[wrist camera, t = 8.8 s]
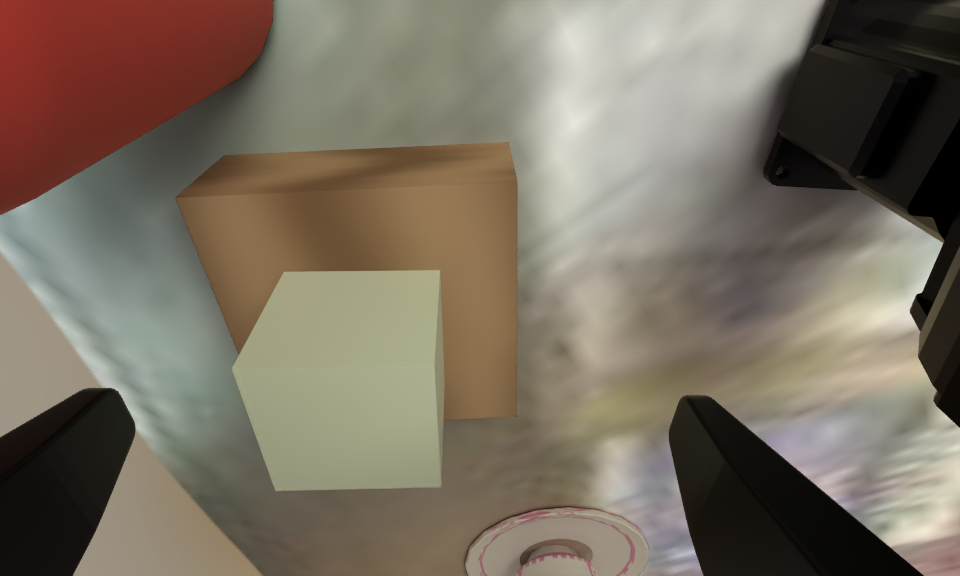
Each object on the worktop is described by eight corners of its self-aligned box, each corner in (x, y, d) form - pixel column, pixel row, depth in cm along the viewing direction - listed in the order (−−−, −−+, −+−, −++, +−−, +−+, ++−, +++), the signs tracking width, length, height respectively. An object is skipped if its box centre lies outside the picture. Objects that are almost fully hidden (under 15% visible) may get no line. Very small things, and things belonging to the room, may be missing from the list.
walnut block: (507, 138, 18) (517, 182, 15) (509, 350, 24) (516, 416, 20) (228, 151, 18) (175, 197, 15) (296, 360, 24) (268, 428, 20)
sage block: (440, 270, 16) (434, 365, 13) (444, 382, 19) (441, 486, 15) (283, 271, 16) (231, 368, 13) (311, 384, 19) (275, 491, 15)
